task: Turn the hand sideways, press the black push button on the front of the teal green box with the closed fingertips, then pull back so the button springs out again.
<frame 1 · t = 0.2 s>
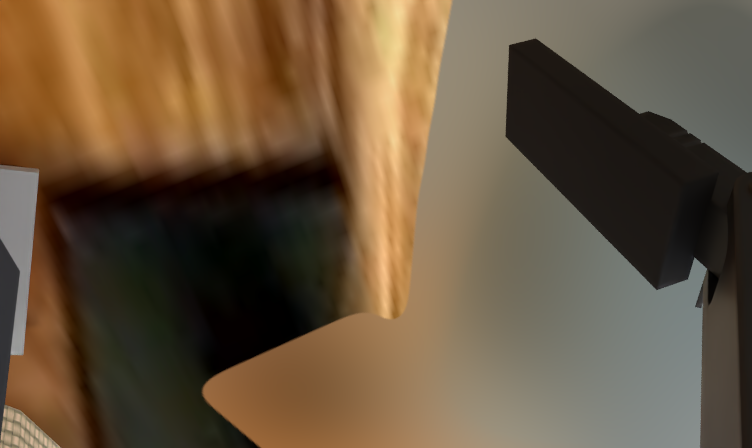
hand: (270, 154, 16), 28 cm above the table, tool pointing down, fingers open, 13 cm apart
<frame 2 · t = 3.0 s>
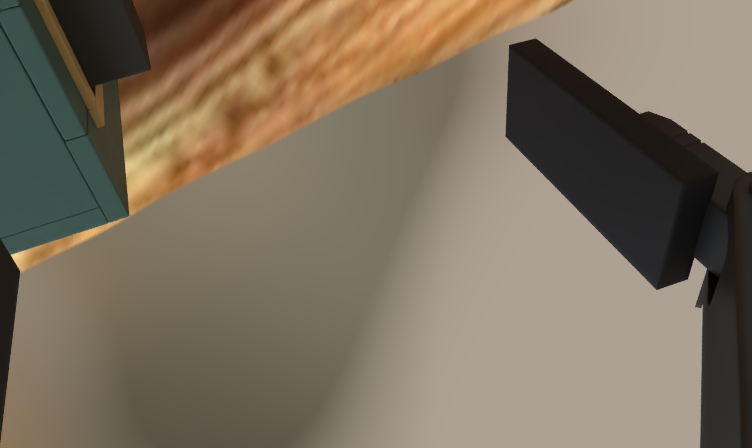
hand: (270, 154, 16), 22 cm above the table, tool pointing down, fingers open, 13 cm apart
button: (62, 19, 25), point 9 cm above the table, slide at 0.0 cm
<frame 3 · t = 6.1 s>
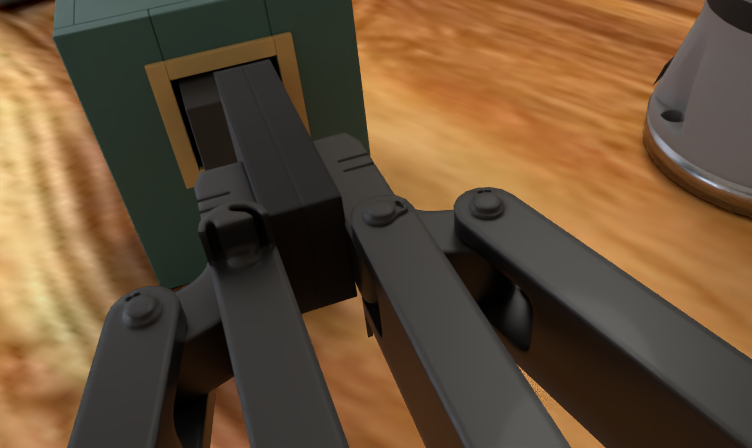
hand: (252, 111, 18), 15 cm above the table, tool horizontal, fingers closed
teal green box: (261, 220, 38), on the table
button: (235, 112, 30), point 9 cm above the table, slide at 0.0 cm
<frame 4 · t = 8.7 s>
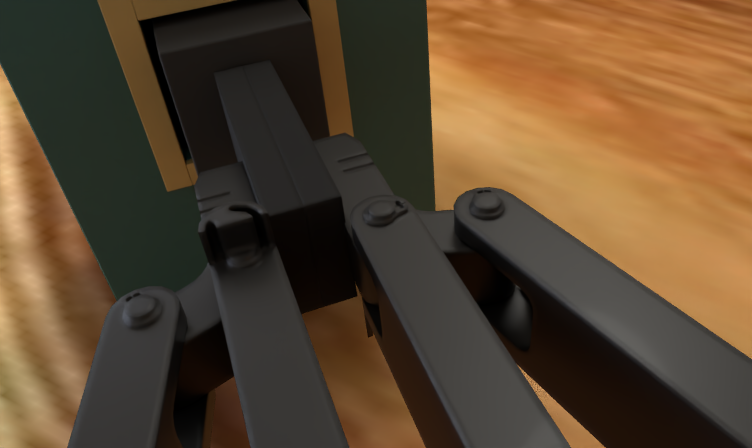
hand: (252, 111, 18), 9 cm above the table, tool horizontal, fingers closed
teal green box: (273, 235, 28), on the table
button: (237, 68, 20), point 9 cm above the table, slide at -0.5 cm, touching gripper
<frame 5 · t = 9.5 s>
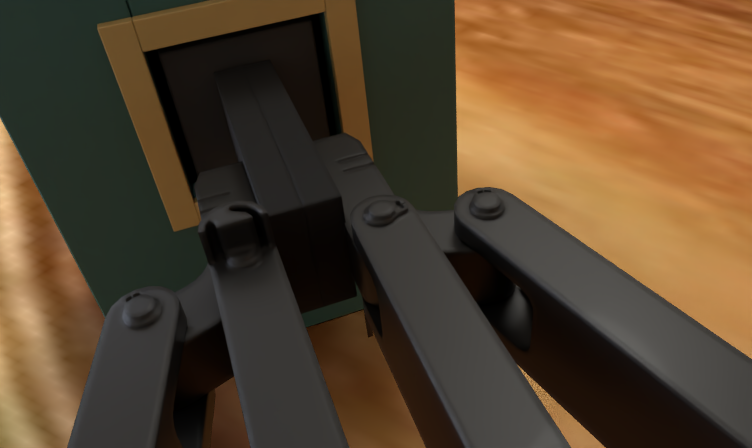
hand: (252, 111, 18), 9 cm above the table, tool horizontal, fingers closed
teal green box: (285, 266, 26), on the table
button: (237, 68, 20), point 9 cm above the table, slide at -2.7 cm, touching gripper
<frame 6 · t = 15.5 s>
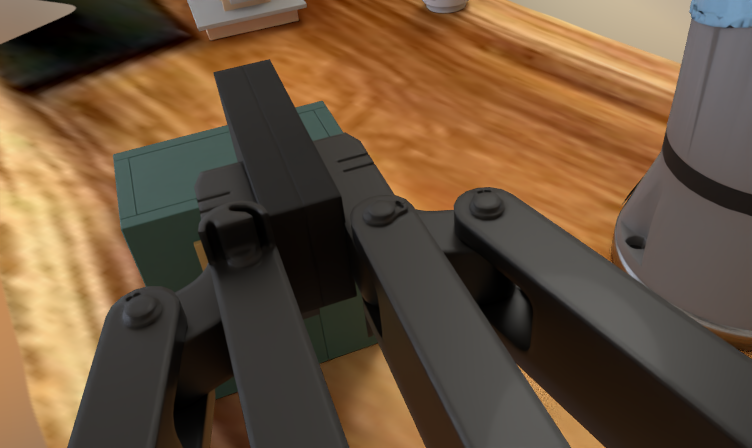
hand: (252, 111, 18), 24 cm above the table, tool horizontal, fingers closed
teal green box: (280, 333, 44), on the table
button: (266, 269, 35), point 9 cm above the table, slide at 0.1 cm
energy drink can: (446, 6, 83), on the table
desk lamp: (245, 13, 87), on the table
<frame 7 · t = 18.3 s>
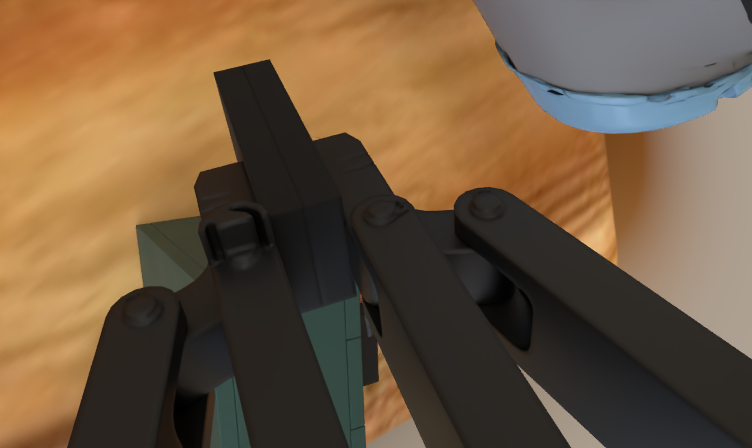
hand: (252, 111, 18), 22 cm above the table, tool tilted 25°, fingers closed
teal green box: (205, 310, 41), on the table
button: (319, 345, 35), point 9 cm above the table, slide at 0.1 cm
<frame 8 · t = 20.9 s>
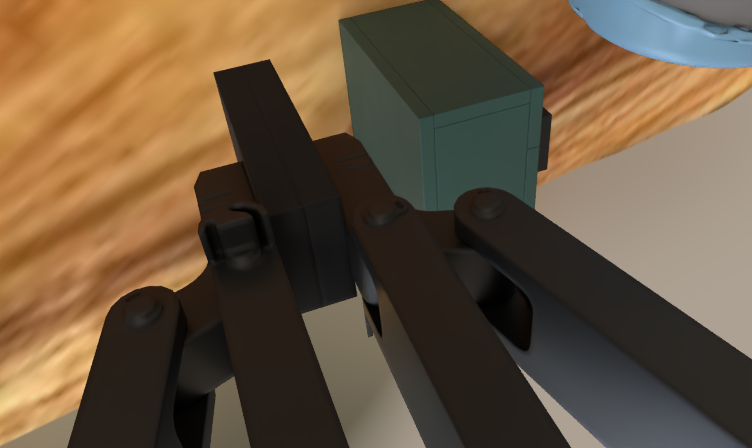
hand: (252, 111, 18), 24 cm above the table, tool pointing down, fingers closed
teal green box: (395, 89, 48), on the table
button: (497, 137, 42), point 9 cm above the table, slide at 0.1 cm
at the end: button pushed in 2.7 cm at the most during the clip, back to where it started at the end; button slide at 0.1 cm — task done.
